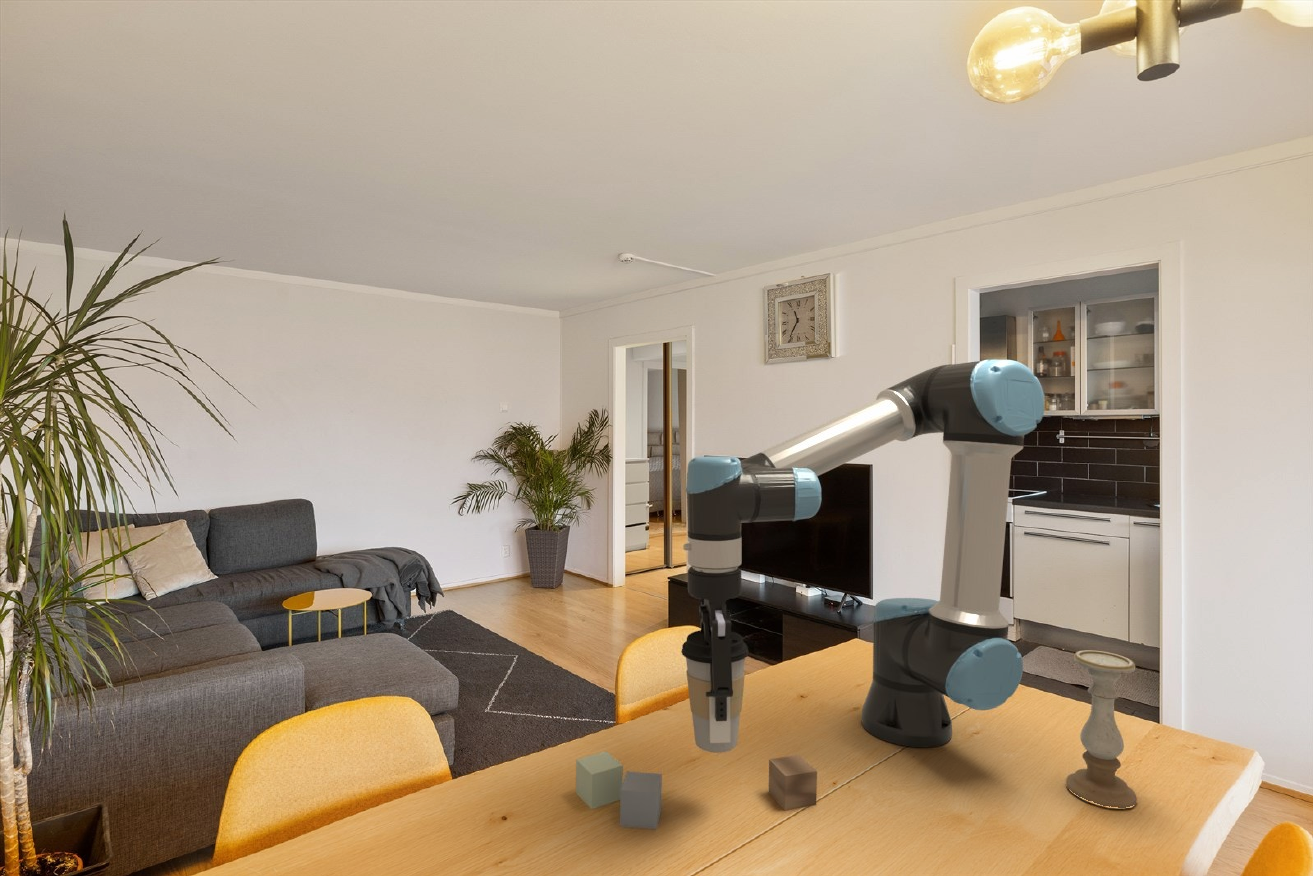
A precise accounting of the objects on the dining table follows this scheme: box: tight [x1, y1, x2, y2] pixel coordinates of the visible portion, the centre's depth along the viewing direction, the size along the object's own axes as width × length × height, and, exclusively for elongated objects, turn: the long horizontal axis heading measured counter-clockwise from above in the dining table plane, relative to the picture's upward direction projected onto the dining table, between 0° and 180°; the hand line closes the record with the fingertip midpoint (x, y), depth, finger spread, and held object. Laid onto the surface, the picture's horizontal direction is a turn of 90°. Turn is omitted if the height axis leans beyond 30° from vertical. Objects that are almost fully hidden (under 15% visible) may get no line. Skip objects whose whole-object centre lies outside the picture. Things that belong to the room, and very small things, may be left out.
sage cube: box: [575, 750, 624, 810], centre depth 100 cm, size 5×5×5 cm
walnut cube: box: [768, 754, 818, 812], centre depth 99 cm, size 5×5×5 cm
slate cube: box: [619, 771, 663, 830], centre depth 94 cm, size 5×5×5 cm
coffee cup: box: [681, 629, 749, 754], centre depth 97 cm, size 9×9×15 cm
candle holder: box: [1065, 649, 1138, 808], centre depth 101 cm, size 9×9×20 cm
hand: (715, 726), depth 97 cm, fingers closed on coffee cup, 8 cm apart
